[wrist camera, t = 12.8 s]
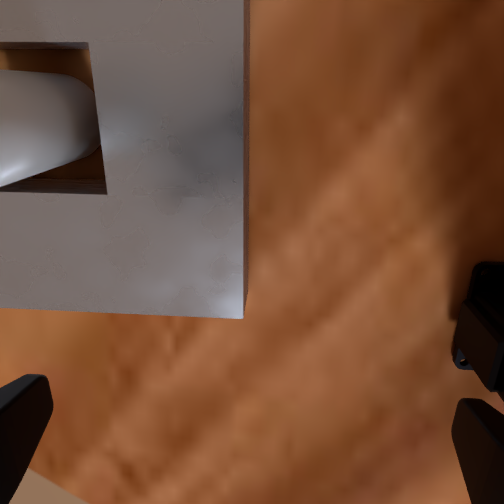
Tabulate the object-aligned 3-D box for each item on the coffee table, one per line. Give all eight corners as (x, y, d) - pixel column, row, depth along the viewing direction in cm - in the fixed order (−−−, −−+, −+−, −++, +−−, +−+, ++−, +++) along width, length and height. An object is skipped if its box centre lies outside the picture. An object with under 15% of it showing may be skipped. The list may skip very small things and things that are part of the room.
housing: (250, -123, 16) (243, -168, 13) (248, 290, 22) (243, 318, 20) (-180, -113, 17) (-272, -153, 14) (-60, 277, 24) (-105, 302, 21)
